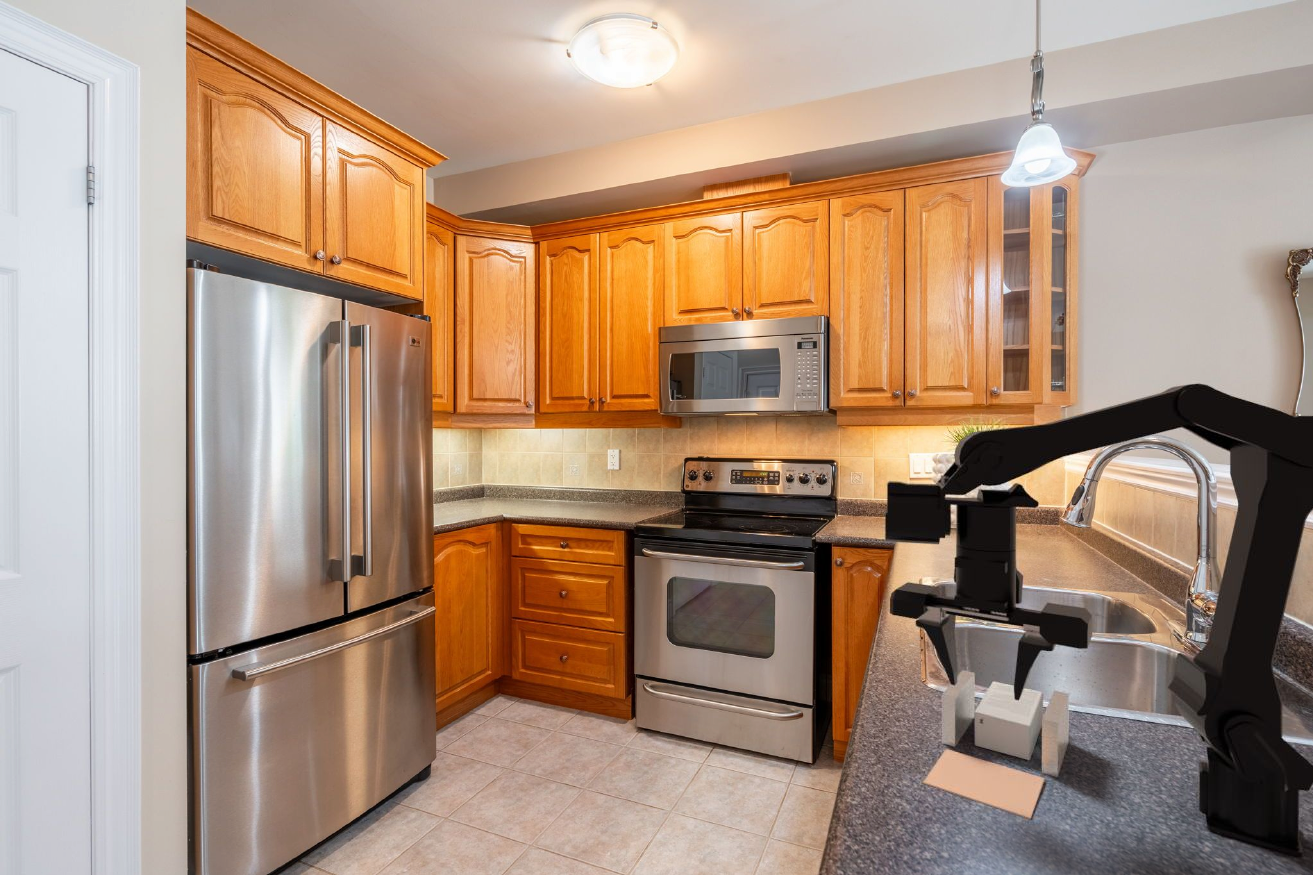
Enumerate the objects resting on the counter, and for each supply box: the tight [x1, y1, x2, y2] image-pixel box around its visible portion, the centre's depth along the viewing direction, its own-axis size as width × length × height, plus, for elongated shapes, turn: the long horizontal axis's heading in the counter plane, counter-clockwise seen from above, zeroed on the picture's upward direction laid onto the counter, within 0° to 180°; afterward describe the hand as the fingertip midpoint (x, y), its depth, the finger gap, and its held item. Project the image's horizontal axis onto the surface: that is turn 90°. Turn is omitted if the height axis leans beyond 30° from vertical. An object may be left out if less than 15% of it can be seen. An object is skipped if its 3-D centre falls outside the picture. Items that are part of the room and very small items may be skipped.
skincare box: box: [973, 681, 1044, 761], centre depth 79 cm, size 6×4×12 cm
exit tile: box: [922, 748, 1045, 820], centre depth 68 cm, size 10×9×1 cm
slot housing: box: [941, 669, 1070, 778], centre depth 77 cm, size 12×10×6 cm
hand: (984, 691), depth 68 cm, fingers open, 6 cm apart
